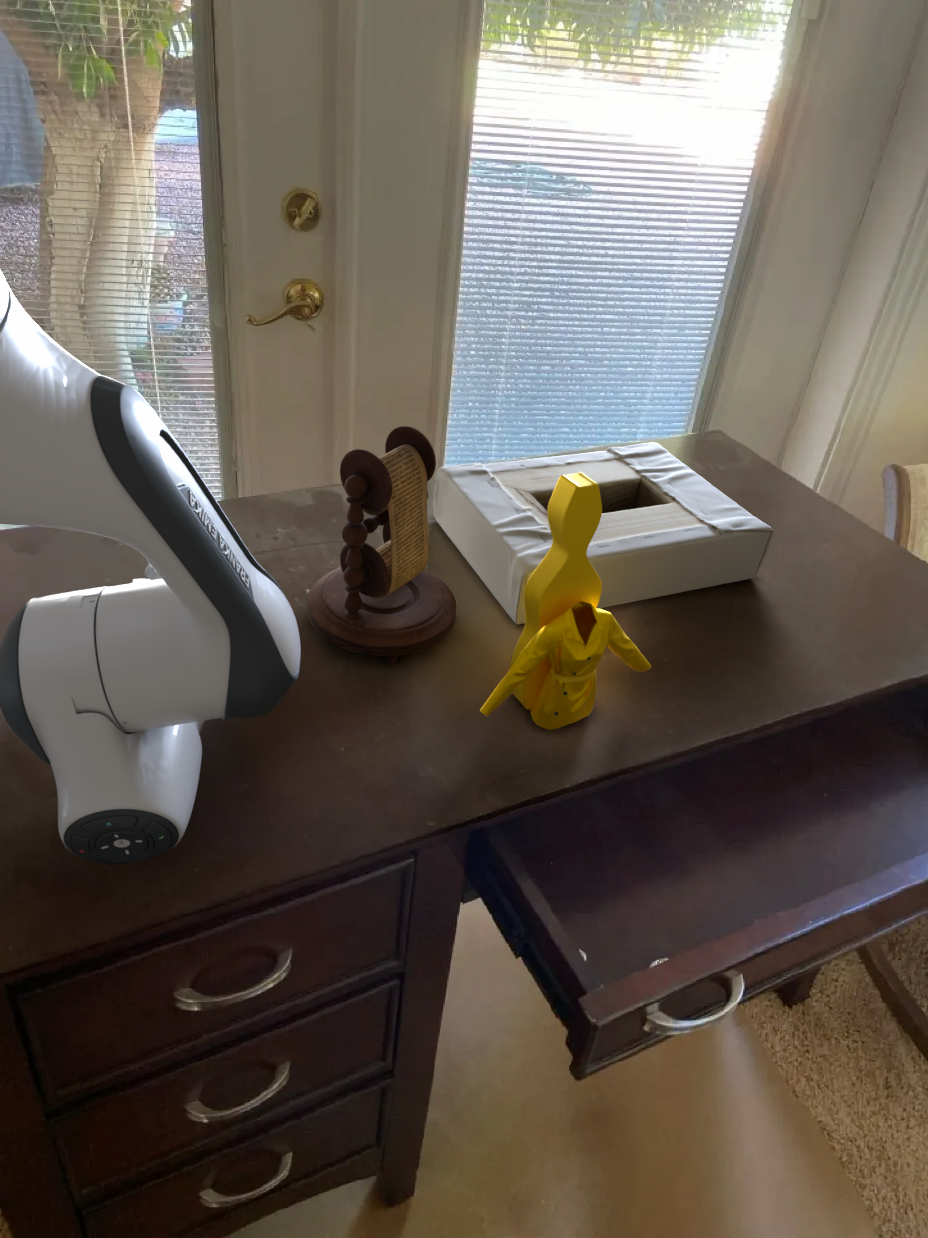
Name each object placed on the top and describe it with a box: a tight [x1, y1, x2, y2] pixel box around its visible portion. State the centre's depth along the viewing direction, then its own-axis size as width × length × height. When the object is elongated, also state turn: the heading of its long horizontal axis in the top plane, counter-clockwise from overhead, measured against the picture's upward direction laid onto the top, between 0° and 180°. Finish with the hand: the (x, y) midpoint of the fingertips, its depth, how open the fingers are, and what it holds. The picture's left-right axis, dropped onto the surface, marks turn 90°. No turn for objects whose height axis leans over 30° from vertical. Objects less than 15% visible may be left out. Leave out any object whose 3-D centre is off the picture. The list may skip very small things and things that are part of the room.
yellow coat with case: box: [479, 472, 652, 731], centre depth 75 cm, size 18×8×22 cm, turn 117°
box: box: [433, 441, 774, 625], centre depth 103 cm, size 23×8×32 cm
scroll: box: [307, 425, 458, 665], centre depth 84 cm, size 15×15×20 cm
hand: (166, 584), depth 80 cm, fingers closed on rook chess piece, 3 cm apart
